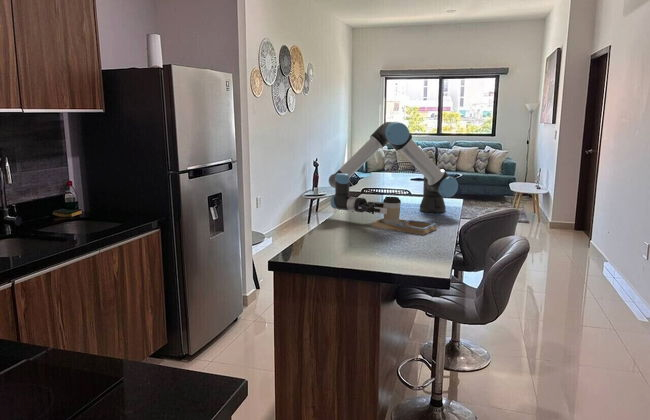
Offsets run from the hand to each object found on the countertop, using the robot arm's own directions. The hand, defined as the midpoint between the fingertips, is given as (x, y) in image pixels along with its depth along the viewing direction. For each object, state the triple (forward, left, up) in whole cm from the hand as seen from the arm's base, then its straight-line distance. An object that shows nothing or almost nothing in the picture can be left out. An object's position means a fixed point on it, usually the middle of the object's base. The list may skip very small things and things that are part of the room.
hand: (393, 209), depth 242 cm
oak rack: (0, +6, -9) cm, 11 cm away
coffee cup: (0, -1, -9) cm, 9 cm away
